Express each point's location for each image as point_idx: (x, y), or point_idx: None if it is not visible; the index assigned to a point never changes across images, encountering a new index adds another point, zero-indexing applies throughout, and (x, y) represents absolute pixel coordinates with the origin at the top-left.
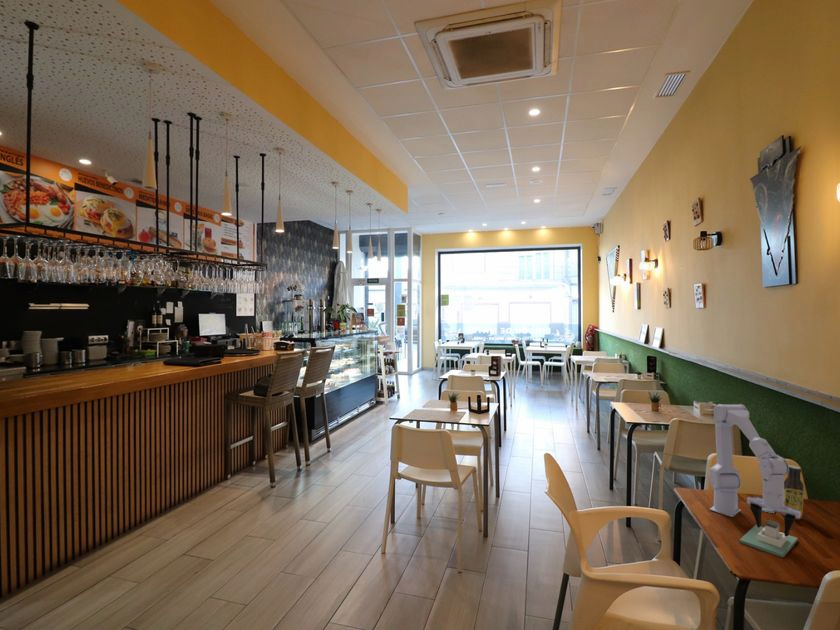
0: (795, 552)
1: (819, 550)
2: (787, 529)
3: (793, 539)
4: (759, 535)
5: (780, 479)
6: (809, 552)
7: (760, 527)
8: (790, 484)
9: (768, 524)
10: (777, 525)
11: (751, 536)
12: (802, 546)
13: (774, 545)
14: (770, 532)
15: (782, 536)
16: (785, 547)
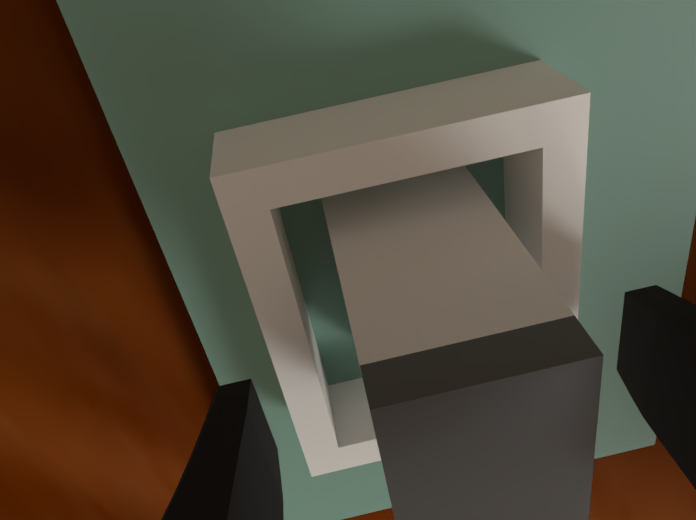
0: (106, 255)
1: (65, 510)
2: (182, 501)
3: (281, 479)
4: (548, 94)
5: None
6: (57, 398)
7: (605, 429)
8: None
9: (526, 365)
10: (387, 484)
11: (634, 86)
12: (185, 450)
13: (299, 114)
14: (429, 262)
15: (310, 381)
16: (188, 209)
